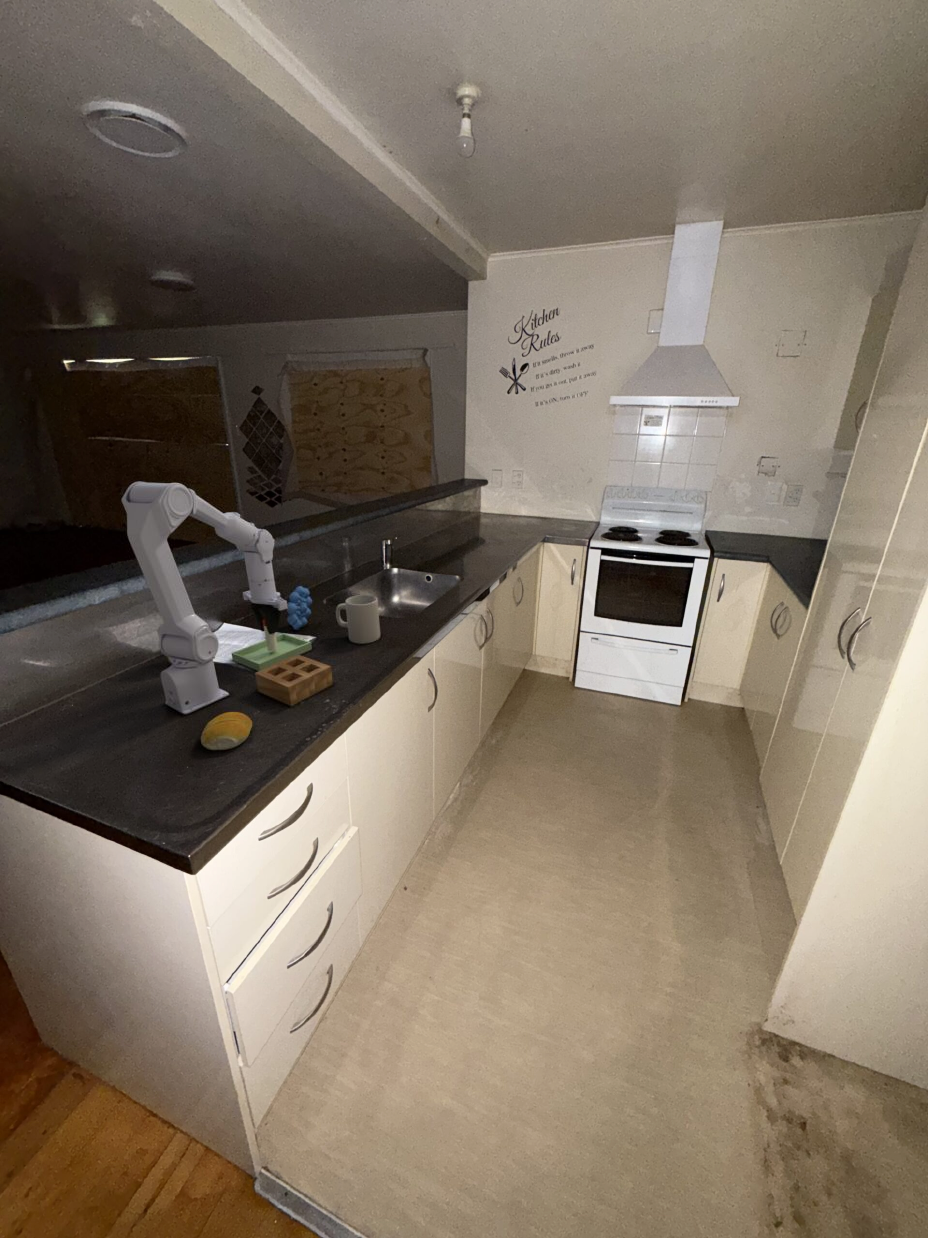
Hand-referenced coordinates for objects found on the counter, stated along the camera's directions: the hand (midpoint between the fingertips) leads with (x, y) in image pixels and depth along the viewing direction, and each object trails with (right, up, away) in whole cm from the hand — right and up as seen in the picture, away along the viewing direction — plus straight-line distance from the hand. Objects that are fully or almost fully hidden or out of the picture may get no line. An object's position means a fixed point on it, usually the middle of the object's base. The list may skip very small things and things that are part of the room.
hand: (269, 631), depth 120 cm
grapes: (+1, +1, +20) cm, 20 cm away
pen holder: (+11, -12, -14) cm, 22 cm away
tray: (0, -6, +2) cm, 6 cm away
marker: (0, -5, +2) cm, 5 cm away
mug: (+19, -2, +13) cm, 23 cm away
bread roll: (+5, -19, -31) cm, 37 cm away
